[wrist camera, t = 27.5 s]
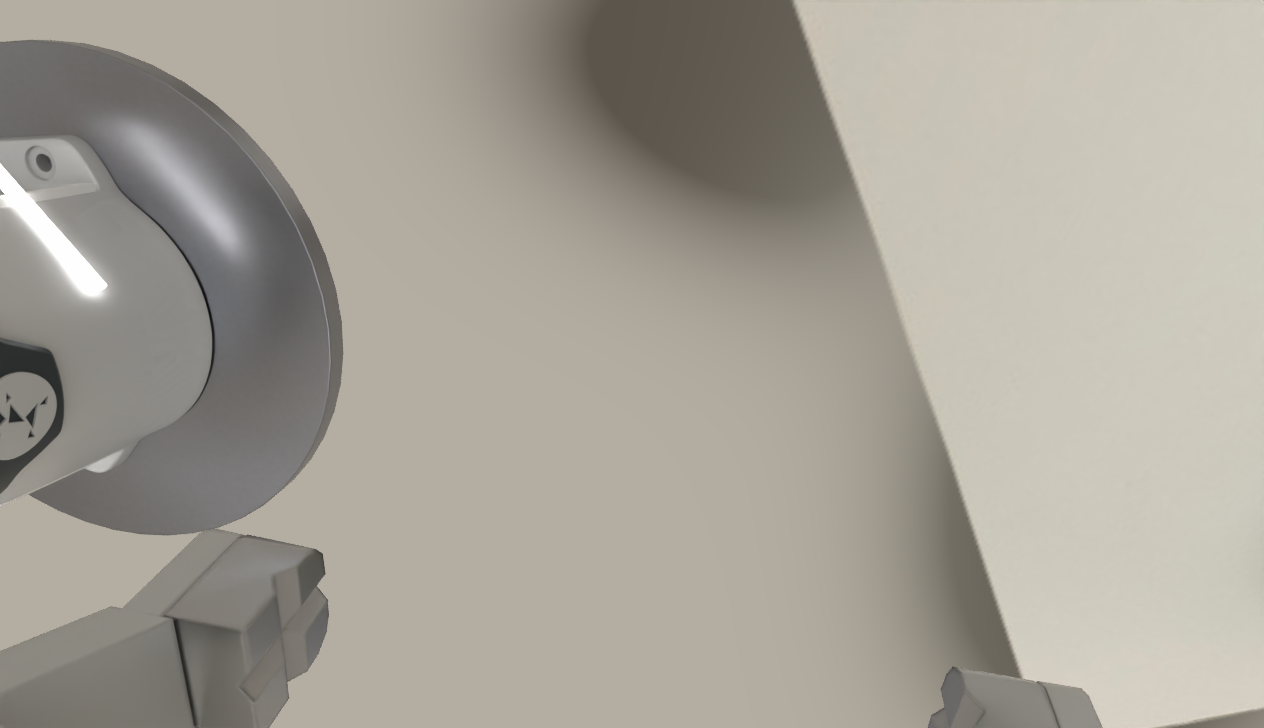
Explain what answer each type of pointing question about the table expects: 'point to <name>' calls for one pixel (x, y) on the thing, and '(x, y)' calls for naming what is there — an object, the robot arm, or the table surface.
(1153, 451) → the table surface
